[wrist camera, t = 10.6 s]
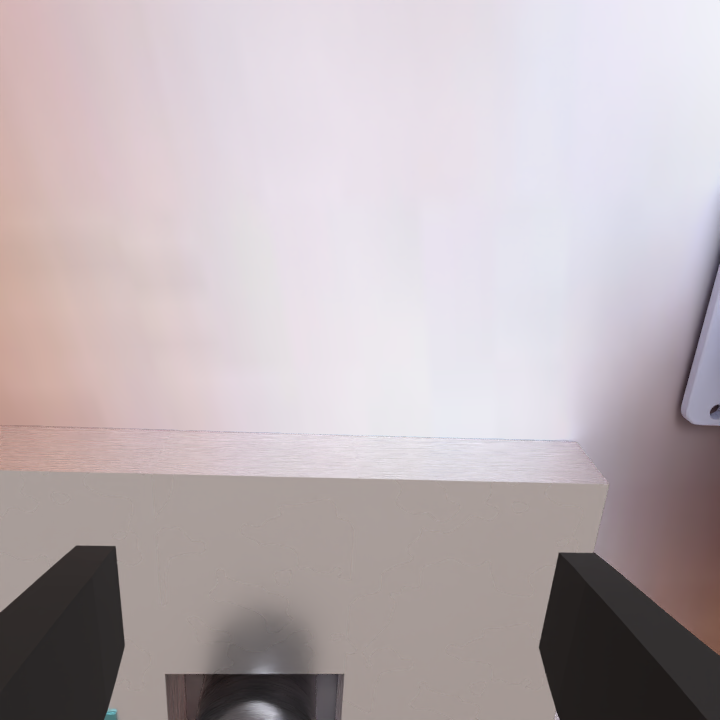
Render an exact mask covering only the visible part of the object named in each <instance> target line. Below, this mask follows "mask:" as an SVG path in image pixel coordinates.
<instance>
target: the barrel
mask: <svg viewBox="0 0 720 720" xmlns="http://www.w3.org/2000/svg"><path fill="white" fill-rule="evenodd" d="M195 720H316V674H205V676H204V681H203V686H202V691H201V695H200V700H199V705H198V710H197V715H196V719H195Z"/></svg>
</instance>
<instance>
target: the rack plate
mask: <svg viewBox="0 0 720 720" xmlns="http://www.w3.org/2000/svg"><path fill="white" fill-rule="evenodd" d="M608 488H609V483H608V482H607V481H606V479H605V478H604V477H603V475H602V474H601V473H600V471H599V470H598V469H597V468H596V466H595V465H594V464H593V462H592V461H591V460H590V459H589V457H588V456H587V455H586V453H585V452H584V451H583V449H582V448H581V447H580V446H579V444H578V443H577V442H563V441H527V440H492V439H456V438H420V437H384V436H349V435H313V434H277V433H242V432H206V431H170V430H135V429H99V428H63V427H28V426H0V612H1V611H2V610H4V609H5V608H6V607H7V606H8V605H9V604H10V603H11V602H13V601H14V600H15V599H16V598H17V597H18V596H19V595H20V594H22V593H23V592H24V591H25V590H26V589H27V588H28V587H29V586H31V585H32V584H33V583H34V582H35V581H36V580H37V579H38V578H40V577H41V576H42V575H43V574H44V573H45V572H46V571H47V570H49V569H50V568H51V567H52V566H53V565H54V564H55V563H56V562H58V561H59V560H60V559H61V558H62V557H63V556H65V555H66V554H67V553H68V552H69V551H70V550H72V549H73V548H74V547H75V546H76V545H81V546H116V555H117V565H118V576H119V587H120V597H121V608H122V619H123V630H124V640H125V648H124V652H123V656H122V659H121V663H120V667H119V671H118V675H117V679H116V682H115V686H114V690H113V693H112V697H111V700H110V704H109V707H108V711H107V714H106V716H105V719H104V720H187V716H186V696H185V676H184V674H338V685H337V701H336V716H335V720H554V716H555V712H556V708H555V705H554V701H553V698H552V695H551V691H550V688H549V684H548V681H547V677H546V673H545V669H544V666H543V662H542V658H541V654H540V650H539V643H540V638H541V634H542V629H543V624H544V620H545V615H546V610H547V605H548V601H549V596H550V591H551V587H552V582H553V577H554V573H555V568H556V563H557V558H558V554H559V552H565V553H593V551H594V547H595V543H596V539H597V534H598V530H599V526H600V522H601V518H602V513H603V509H604V505H605V501H606V496H607V492H608Z"/></svg>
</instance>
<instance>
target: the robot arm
mask: <svg viewBox="0 0 720 720" xmlns="http://www.w3.org/2000/svg"><path fill="white" fill-rule="evenodd" d="M718 404H719V407H718V409H717V411H715V412H714V413H711V414H710V411H711V409H712V408H713V407H714V406H715V405H718ZM681 413H682V415H683V417H684V418H686V419H687V420H688V421H689V422H690V423H692V424H695V425H709V426H720V265H719V268H718V272H717V276H716V279H715V283H714V287H713V291H712V294H711V298H710V302H709V305H708V309H707V313H706V316H705V320H704V324H703V328H702V331H701V335H700V339H699V342H698V346H697V350H696V353H695V357H694V361H693V365H692V368H691V372H690V376H689V379H688V383H687V387H686V390H685V394H684V398H683V402H682V405H681ZM124 648H125V640H124V630H123V619H122V608H121V597H120V587H119V576H118V565H117V555H116V546H81V545H76V546H75V547H74V548H73V549H72V550H70V551H69V552H68V553H67V554H66V555H65V556H63V557H62V558H61V559H60V560H59V561H58V562H56V563H55V564H54V565H53V566H52V567H51V568H50V569H49V570H47V571H46V572H45V573H44V574H43V575H42V576H41V577H40V578H38V579H37V580H36V581H35V582H34V583H33V584H32V585H31V586H29V587H28V588H27V589H26V590H25V591H24V592H23V593H22V594H20V595H19V596H18V597H17V598H16V599H15V600H14V601H13V602H11V603H10V604H9V605H8V606H7V607H6V608H5V609H4V610H2V611H1V612H0V720H104V719H105V716H106V714H107V711H108V707H109V704H110V700H111V697H112V693H113V690H114V686H115V682H116V679H117V675H118V671H119V667H120V663H121V659H122V656H123V652H124ZM539 650H540V654H541V658H542V662H543V666H544V669H545V673H546V677H547V681H548V684H549V688H550V691H551V695H552V698H553V701H554V705H555V708H556V711H557V714H558V716H559V719H560V720H720V656H719V655H718V654H717V653H715V652H714V651H713V650H712V649H710V648H709V647H708V646H707V645H705V644H704V643H703V642H702V641H700V640H699V639H698V638H697V637H695V636H694V635H693V634H692V633H691V632H689V631H688V630H687V629H686V628H684V627H683V626H682V625H681V624H680V623H678V622H677V621H676V620H675V619H674V618H672V617H671V616H670V615H669V614H668V613H666V612H665V611H664V610H663V609H662V608H660V607H659V606H658V605H657V604H656V603H655V602H653V601H652V600H651V599H650V598H649V597H647V596H646V595H645V594H644V593H643V592H642V591H640V590H639V589H638V588H637V587H636V586H634V585H633V584H632V583H631V582H630V581H628V580H627V579H626V578H625V577H624V576H623V575H621V574H620V573H619V572H618V571H617V570H615V569H614V568H613V567H612V566H610V565H609V564H608V563H607V562H605V561H604V560H603V559H602V558H600V557H599V556H598V555H596V554H595V553H565V552H559V554H558V558H557V563H556V568H555V573H554V577H553V582H552V587H551V591H550V596H549V601H548V605H547V610H546V615H545V620H544V624H543V629H542V634H541V638H540V643H539Z"/></svg>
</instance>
